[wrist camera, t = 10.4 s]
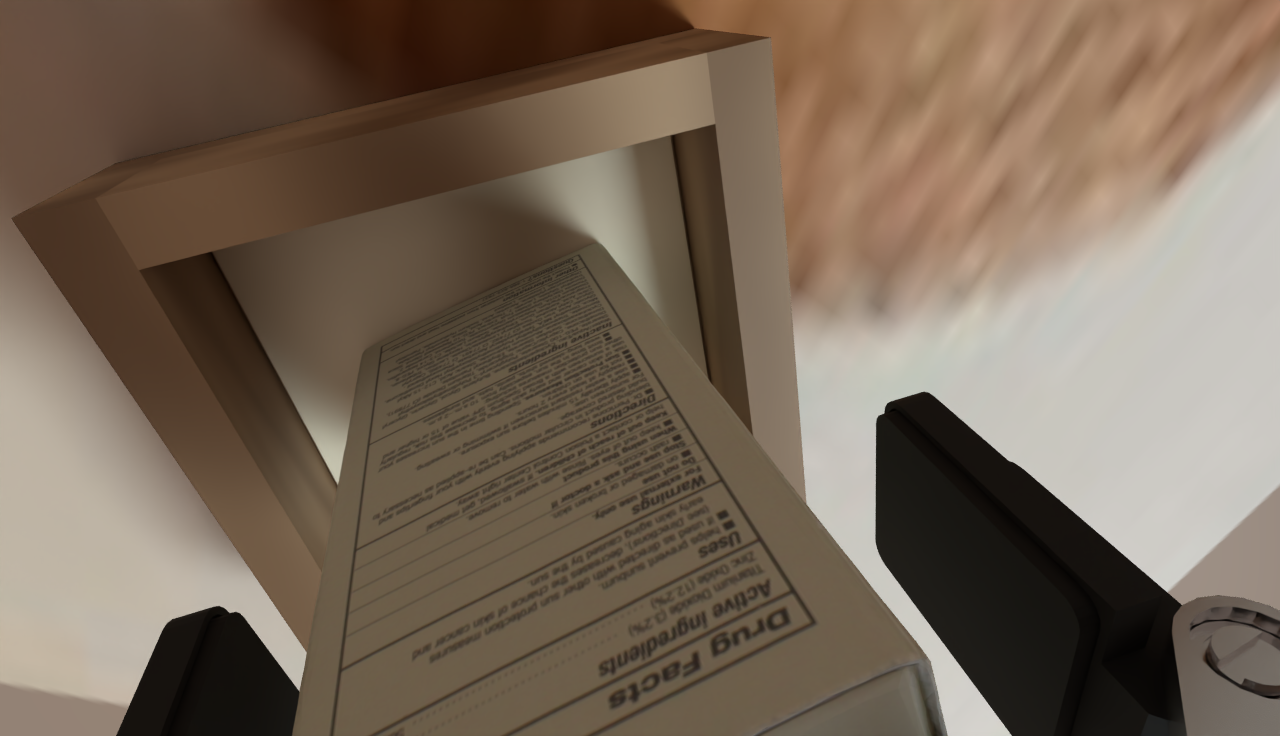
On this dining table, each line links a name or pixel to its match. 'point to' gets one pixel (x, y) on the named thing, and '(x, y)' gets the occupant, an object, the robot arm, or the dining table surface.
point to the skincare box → (583, 544)
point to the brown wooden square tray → (424, 260)
